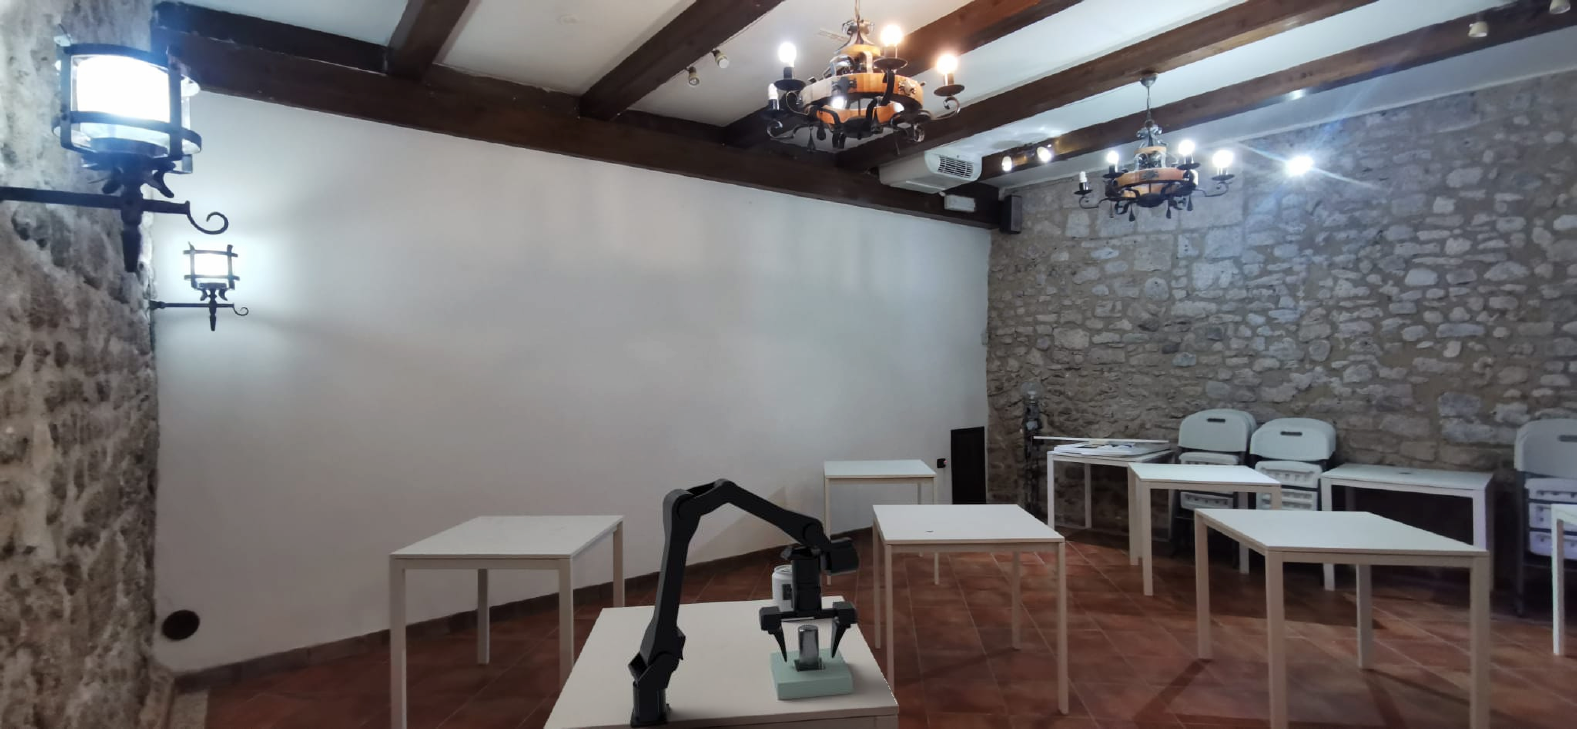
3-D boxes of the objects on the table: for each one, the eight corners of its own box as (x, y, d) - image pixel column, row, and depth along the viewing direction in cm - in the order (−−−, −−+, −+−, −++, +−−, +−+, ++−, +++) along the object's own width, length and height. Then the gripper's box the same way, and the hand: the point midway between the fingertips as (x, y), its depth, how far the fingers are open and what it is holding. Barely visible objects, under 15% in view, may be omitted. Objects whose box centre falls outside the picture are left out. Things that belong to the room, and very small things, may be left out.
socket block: (852, 692, 132) (852, 676, 132) (778, 699, 131) (777, 683, 131) (838, 661, 146) (838, 647, 146) (770, 667, 145) (770, 652, 145)
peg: (821, 683, 137) (819, 631, 137) (801, 685, 136) (799, 632, 136) (818, 674, 141) (816, 623, 141) (798, 675, 140) (796, 625, 140)
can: (767, 619, 172) (766, 570, 172) (782, 609, 178) (780, 562, 178) (795, 624, 168) (793, 573, 168) (809, 613, 175) (807, 565, 175)
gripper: (845, 564, 147) (847, 639, 147) (755, 570, 145) (758, 646, 145) (856, 580, 136) (859, 661, 136) (759, 587, 134) (762, 669, 134)
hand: (809, 659), depth 138 cm, fingers open, 9 cm apart
